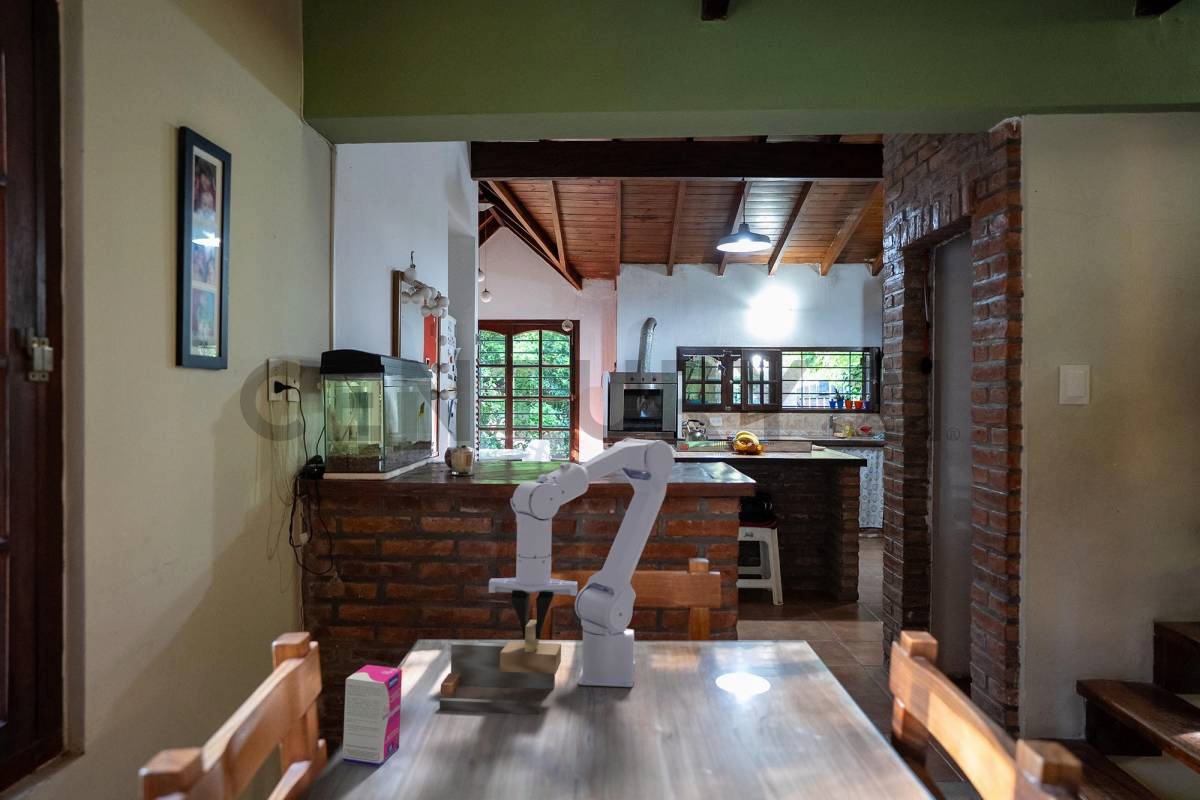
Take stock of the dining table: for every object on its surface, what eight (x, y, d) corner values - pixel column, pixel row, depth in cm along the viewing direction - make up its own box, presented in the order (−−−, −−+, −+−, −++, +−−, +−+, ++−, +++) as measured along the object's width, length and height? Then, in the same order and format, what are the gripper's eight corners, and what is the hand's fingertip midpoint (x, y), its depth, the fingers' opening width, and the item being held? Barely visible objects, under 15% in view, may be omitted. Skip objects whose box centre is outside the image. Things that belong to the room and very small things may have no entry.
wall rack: (554, 685, 125) (555, 645, 125) (545, 714, 114) (545, 670, 114) (451, 681, 126) (451, 641, 126) (431, 709, 115) (432, 665, 115)
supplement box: (381, 768, 96) (382, 682, 96) (341, 763, 98) (342, 678, 98) (401, 747, 102) (402, 667, 102) (363, 743, 103) (364, 663, 103)
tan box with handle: (560, 661, 122) (562, 619, 122) (555, 674, 115) (556, 629, 115) (508, 659, 122) (509, 617, 123) (499, 671, 115) (501, 626, 116)
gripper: (485, 558, 116) (483, 642, 116) (574, 561, 115) (573, 646, 115) (494, 549, 123) (493, 629, 123) (579, 552, 122) (577, 632, 122)
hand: (532, 636), depth 119 cm, fingers closed on tan box with handle
